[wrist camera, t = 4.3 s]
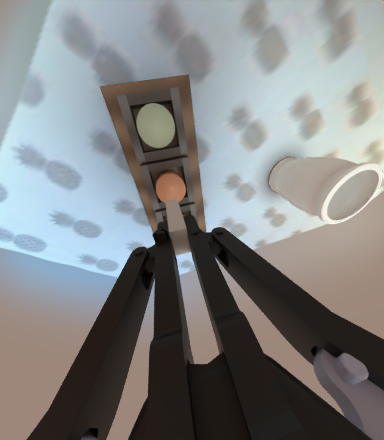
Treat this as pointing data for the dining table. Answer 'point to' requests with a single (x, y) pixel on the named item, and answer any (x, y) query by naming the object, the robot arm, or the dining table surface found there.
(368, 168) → the jar
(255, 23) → the dining table surface
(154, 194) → the button board
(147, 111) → the button sage
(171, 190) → the button terracotta
